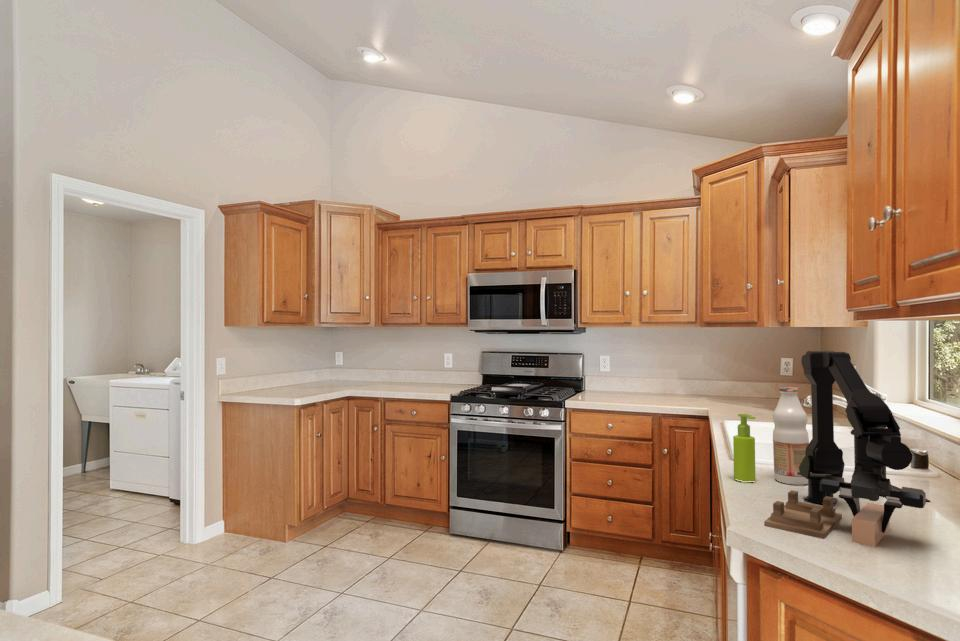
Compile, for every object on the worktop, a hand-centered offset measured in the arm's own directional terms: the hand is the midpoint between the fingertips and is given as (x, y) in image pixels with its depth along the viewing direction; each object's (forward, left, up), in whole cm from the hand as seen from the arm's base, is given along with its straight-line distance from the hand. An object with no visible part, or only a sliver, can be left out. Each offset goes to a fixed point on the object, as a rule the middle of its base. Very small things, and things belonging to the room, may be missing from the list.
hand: (871, 529), depth 122 cm
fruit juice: (-36, -25, -1) cm, 44 cm away
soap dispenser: (-27, -35, -1) cm, 45 cm away
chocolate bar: (-42, -2, -2) cm, 42 cm away
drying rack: (+1, -13, -1) cm, 13 cm away
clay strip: (0, 0, -1) cm, 1 cm away
